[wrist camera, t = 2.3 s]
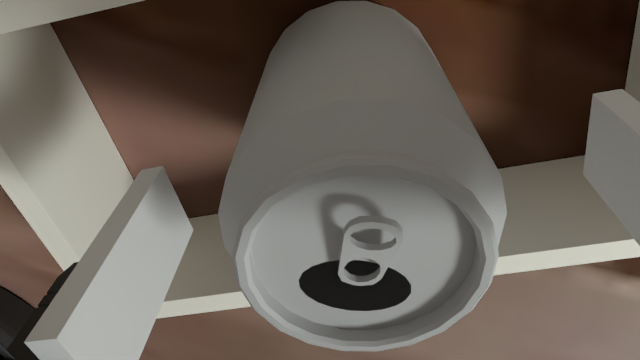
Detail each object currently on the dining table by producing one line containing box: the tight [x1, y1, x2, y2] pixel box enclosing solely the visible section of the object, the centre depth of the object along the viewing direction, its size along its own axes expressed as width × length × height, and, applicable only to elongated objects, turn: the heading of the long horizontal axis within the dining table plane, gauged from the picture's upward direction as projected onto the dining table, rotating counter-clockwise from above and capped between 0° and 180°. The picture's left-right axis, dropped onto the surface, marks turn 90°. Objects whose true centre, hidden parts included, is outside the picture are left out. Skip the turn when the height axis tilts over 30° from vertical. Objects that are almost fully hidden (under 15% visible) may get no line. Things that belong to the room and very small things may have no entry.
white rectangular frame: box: [0, 0, 640, 319], centre depth 18 cm, size 26×14×6 cm, turn 102°
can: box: [218, 1, 507, 351], centre depth 16 cm, size 8×8×12 cm
